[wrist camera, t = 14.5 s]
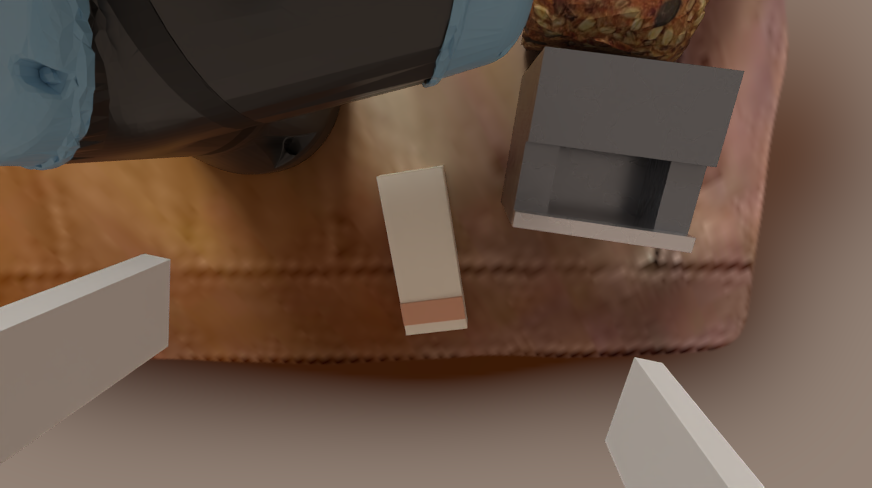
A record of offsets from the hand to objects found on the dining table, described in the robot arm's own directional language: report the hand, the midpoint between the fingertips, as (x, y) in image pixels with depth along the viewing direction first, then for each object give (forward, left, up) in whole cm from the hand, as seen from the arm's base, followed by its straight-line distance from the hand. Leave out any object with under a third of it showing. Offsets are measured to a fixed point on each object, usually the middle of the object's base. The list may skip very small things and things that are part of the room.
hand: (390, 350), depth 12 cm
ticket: (-1, -4, -26) cm, 26 cm away
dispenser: (+10, +6, -26) cm, 28 cm away
